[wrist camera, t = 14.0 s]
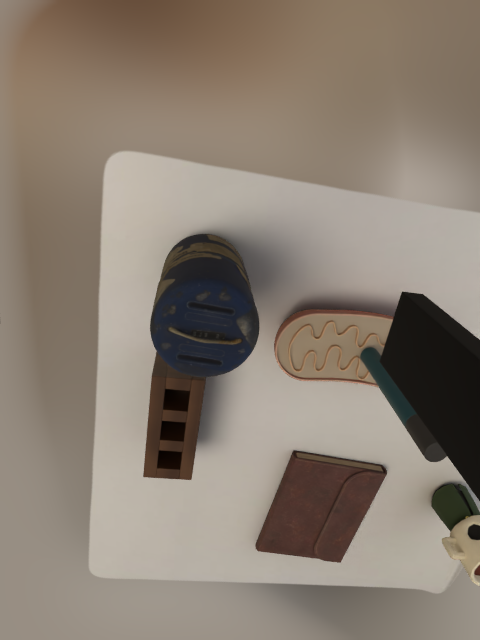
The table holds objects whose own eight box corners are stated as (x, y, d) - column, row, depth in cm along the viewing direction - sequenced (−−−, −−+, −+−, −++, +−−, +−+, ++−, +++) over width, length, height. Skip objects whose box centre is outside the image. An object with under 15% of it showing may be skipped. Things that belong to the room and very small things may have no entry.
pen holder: (149, 440, 62) (143, 477, 56) (157, 346, 56) (151, 376, 50) (192, 443, 63) (191, 480, 56) (205, 351, 57) (205, 380, 50)
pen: (357, 352, 53) (421, 449, 37) (374, 343, 52) (445, 438, 37) (364, 365, 53) (429, 466, 38) (380, 357, 53) (453, 455, 38)
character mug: (486, 479, 70) (543, 552, 58) (472, 511, 73) (524, 587, 61) (421, 478, 69) (466, 552, 57) (410, 511, 72) (450, 588, 60)
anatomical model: (262, 356, 58) (267, 376, 53) (280, 285, 54) (287, 301, 49) (421, 379, 61) (439, 400, 57) (449, 315, 57) (470, 332, 53)
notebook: (254, 542, 72) (256, 553, 70) (291, 450, 65) (294, 459, 63) (338, 552, 75) (342, 563, 73) (384, 465, 67) (389, 474, 66)
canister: (184, 216, 49) (175, 264, 33) (258, 252, 52) (283, 314, 35) (151, 288, 53) (127, 365, 36) (222, 319, 55) (230, 404, 39)
